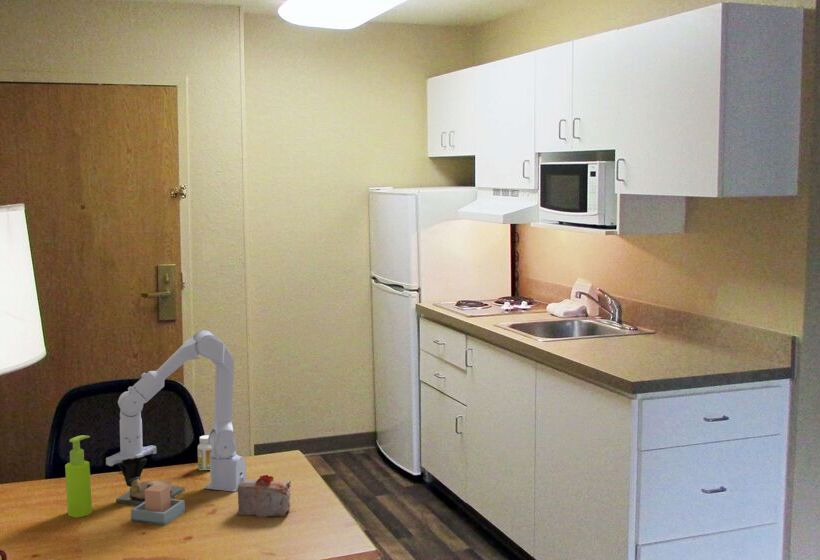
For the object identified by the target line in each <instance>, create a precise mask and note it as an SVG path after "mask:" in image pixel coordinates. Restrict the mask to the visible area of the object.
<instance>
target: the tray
mask: <svg viewBox="0 0 820 560" xmlns="http://www.w3.org/2000/svg"><path fill="white" fill-rule="evenodd" d="M170 501H171V508H169V509H168V510H166V511H164V512H155V511H147V510H145V502H143V503H141V504H140V505H136V506H135V507H133V508H131V509H130V519H131V520H130V521H131V522H134V523H141V524H150V525H157V526H166V525H168V524H169V523H171V522H172V521H174V520H176V518H178V517H180V516H181V515H183V514H184V513H186V504H185V503H186V502H185V501H186V500H183V499H174V498H173V499H170Z"/></svg>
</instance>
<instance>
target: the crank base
mask: <svg viewBox="0 0 820 560" xmlns="http://www.w3.org/2000/svg"><path fill="white" fill-rule="evenodd" d="M183 491H184V492H185V491H186V487H185V486H177V485H172V491H171V492H170V499H172V498H173V499H174V498H176V497H177V496H178V495H180V494H182V493H183ZM175 496H176V497H175ZM116 502H119V503H118V504H125V503H127V504H126V505H136V506H138V505H140V504H141V503H143V502H145V499H137V498H133V497H131V496H130V490H129V491H127V492H126V493H123V494H122V495H120V496H118V497H116V498H115V503H116Z"/></svg>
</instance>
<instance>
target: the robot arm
mask: <svg viewBox="0 0 820 560" xmlns="http://www.w3.org/2000/svg"><path fill="white" fill-rule="evenodd" d="M199 355H200V356H201V357H203V358H205V359H207V360H209V361H211V362H212V363H213V365H215V377H214V381H215V383H214V408H213V409H214V410H213V411H214V413H213V420H212V421H213V422H212V425H211V431H210V433H209V434H208V435H209V438H208V441H209V444H210V446H211V447H212V451H211V452H210V471H209V473H210V474H209V475H210V476H209V477H210V482H209V483H208V484H206V485H205V486H204V489H207V490H213V491H215V490H216V491H225V492H236V491H238V485H239V484H240V483H241V482H242V481H243V480H245V479H247V468H246V459H245V457H243V456H241V455H238V454H237V448H238V447H237V441H236V440H235V435H234V426H233V399H234V373H235V370H234V369H235V368H234V366H235V360H234V357H233V356H232V354H231V352H230V351H229V350H228V347H227V346H226V345H225V343H224V342H223V341H222V340H221V339H220V338H219V337H218V336H217V335H215V334H214V333H212V332H211V331H209V330H206V329H203V330H202V329H201V330H199V331H197V332H195V333H194V335H193V337H192V336H190V337H189V338H188V339H186V340H185V342H184V343H182V344H181V346H180V347H179V348H178V349H177V350H175V352H173V353H172V355H171V356H170V357H169V358H167V360H166V361H164V362H163V364H162V365H160V366H159V368H158V369H156V370H149V371H147V372H143V373H142V374H141V376H140V377H141V378H140V379H139V380H138V381H137V382H135V383H134V384H133V385H132V386H128V388H127V391H124V392H122V393H121V394H120V396H119V397H118V400H117V405H118V407H119V409H120V410H119V411H120V412H119V443H120V445H119V447H120V450H119V452H117V453H115V454H112V455H111V456H107V457H106V458H105V465H106V466H109V467H113V466H114V465H117V466H118V467H119V468H120V470H121V473H122V475H123V477H124V480H125V485H126V486H127V487H130V488H131V487H132V484H131V482H129V480H130V479H131V478H135V477H138V476H139V477H140V478H141V475H142V472H143V469H144V468H145V466H146V465H147V461H148V459H147V458H146V457H145V456H148V455H151V454H152V455H155V454H157V446H156V445H147V446H143V420H142V411H143V408H144V404H146V403H148V402H149V401H150V400H151V399H153V397H154V396H156V394H158V392H160V391H161V390H162V389H163V388H164V387H165V380H166V379H168V377H169V376H171V375H172V374H173V373H175V372H176V371H177V369H179V368H180V367H181V366H183V365H184V364H185V363H186V362H187V361H192V360H199V359H200V357H199Z"/></svg>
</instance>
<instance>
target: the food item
mask: <svg viewBox="0 0 820 560" xmlns="http://www.w3.org/2000/svg"><path fill="white" fill-rule="evenodd" d="M291 487H292V482H291V480H279V479H277V480H276V479H275V480H274V476H271V475H268V474H264V475H260V476H259V478H258V479H250V478H249V479H248V478H246V479H245V480H243V481H242V482H241V483H240V484H239V485H238V490H237V499H238V500H237V502H238V503H237V504H238V505H237V506H238V512H237V513H238V515H239V516H256V517H258V518H265V517H266V518H267V517H282V516H284V515H286V513H288V511H290V510H291V507H292V506H291V505H292V504H291V503H292V502H291Z"/></svg>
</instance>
